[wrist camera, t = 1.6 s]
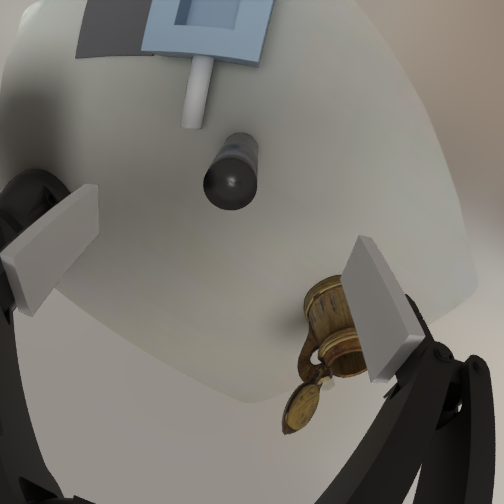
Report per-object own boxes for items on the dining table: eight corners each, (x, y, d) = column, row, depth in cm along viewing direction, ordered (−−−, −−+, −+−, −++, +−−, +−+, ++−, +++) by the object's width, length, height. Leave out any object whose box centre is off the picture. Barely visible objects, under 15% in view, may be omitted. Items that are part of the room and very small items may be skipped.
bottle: (221, 161, 30) (200, 205, 20) (227, 129, 28) (207, 155, 18) (254, 168, 30) (251, 214, 20) (261, 136, 29) (262, 165, 18)
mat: (77, 58, 23) (75, 58, 23) (94, -16, 18) (92, -16, 17) (153, 55, 24) (152, 55, 23) (173, -24, 19) (172, -25, 18)
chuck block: (152, 117, 27) (130, 126, 22) (182, -24, 19) (166, -44, 14) (244, 131, 28) (241, 141, 23) (278, -15, 19) (282, -36, 14)
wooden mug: (264, 302, 40) (264, 421, 25) (356, 265, 37) (401, 380, 21) (289, 339, 44) (296, 445, 29) (370, 309, 41) (406, 413, 26)
